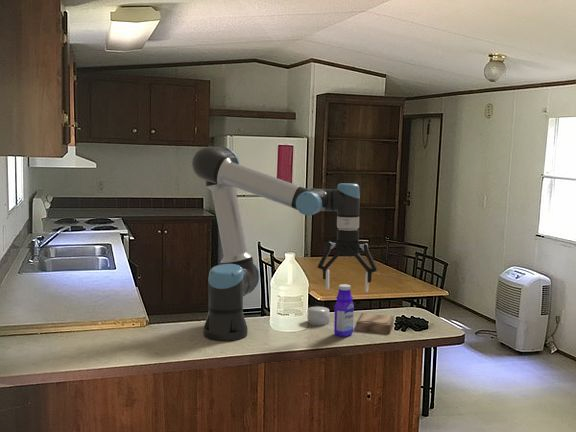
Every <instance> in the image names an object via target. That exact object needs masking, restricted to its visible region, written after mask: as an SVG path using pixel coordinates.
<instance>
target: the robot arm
mask: <svg viewBox="0 0 576 432" xmlns="http://www.w3.org/2000/svg"><path fill="white" fill-rule="evenodd" d="M191 167H192V170H193V172H194V174H195V175H196V177H198V178H199V179H200V180H204V181H205V186H206V188H207V189H208V190H210V192H211V195H212V200H213V206H214V211H215V217H216V221H217V226H218V233H219V238H220V244H221V249H222V254H223V257H222V258H221V260H220V264H217V265H215V266H212V268H210V270H209V272H208V278H207V280H208V281H207V282H208V311H207V312H208V313H207V317H206V318H205V322H204V325H203V329H202V332H203V334H202V335H203V336H204V337H205V338H206V339H208V340H212V341H220V342H222V341H223V342H226V341H227V342H228V341H229V342H231V341H236V340H242V339H244V338H245V337H246V338H247V336H248V334H249V333H248V331H249V329H248V325H247V321H246V319H245V315H244V311H243V309H244V307H243V306H244V297H245V296H247V295H248V294H251V293H252V292H253V291H254V290H255V289H256V287H257V286H258V284H259V282H260V279H261V277H260V276H261V274H260V270H259V268H258V266H257V265H256V264H255V263H254V258H253V255H252V254H250V253H249V252H248V249H247V243H246V238H245V232H244V228H243V222H242V217H241V213H240V205H239V202H238V194H237V189H239V190H241V191H244V192H247V193H250V194H252V195H255V196H258V197H262V198H264V199H266V200H269V201H272V202H275V203H277V204H280V205H282V206H286V207H288V208H292V209H294V210H296V211H298V212H299V213H300V214H302V215H304V216H314V215H315V214H317V213H320V212H337V213H336V214H337V215H336V227H337V230H336V242H332V241H328V242H327V245H326V250H325V252H324V253H323V255H322V257H321V259H320V261H319V262H318V264H317V268H318V269H320V270H322V279H323V281H324V280H325V290H329V289H330V275H331V274H330V272H331V271H330V269H328V268H330V266H331V265H332V264H333V263H334V262H335V261H336V260H337V258H338V257H339V256H340V255H341V256H342V257H350V258H351V257H354V258H355V259H356V260H357V262H358V263H360V265H361V266H362V267H363V268H364V269H365V274H364V276H365V278H364V281H365V282H364V293H368V292H369V283H371V282H372V278H373V273H375V272H377V271H378V267H377V264H376V262H375V260H374V257H373V256H372V255H371V252H370V249H369V244H368V243H363V244H360V230H359V228H360V208H361V207H360V206H361V205H360V204H361V200H360V199H361V196H360V195H361V194H360V186H359V184H358V183H338V184H337V188H333V189H332V188H314V187H313V188H311V187H310V188H306V187H303V186H300V185H298V184H294V183H291V182H289V181H285V180H283V179H280V178H278V177H274V176H272V175H269V174H267V173H264V172H261V171H258V170H256V169H254V168H253V169H252V168H250V167H247V166H244V165H241V164H240V160H239V158H238V155H237V154H236V153H235V151H233V150H232V149H230V148H227V147H225V146H205V147H202V148H200V149H198V150H197V151H196V152H195V154H193V157H192V160H191ZM334 247H335V249H336V250H337V252H336V253H335V254H334V255H333V256H331V258H330V260H329V261H328V262H326V260H327V258H328V256H329V255H330V252H331V250H333V249H334ZM360 248H361V250H362V251H363V252H364V255H365V257H366V259H367V261H368V263H369V264H368V263H367V262H366V260H365V259H364V258H363V257H362V255H361V253H360V252H359V250H360ZM325 262H326V264H325ZM324 264H325V265H324Z"/></svg>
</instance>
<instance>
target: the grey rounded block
mask: <svg viewBox="0 0 576 432" xmlns="http://www.w3.org/2000/svg"><path fill="white" fill-rule="evenodd" d="M307 319H308V322H309V323H310V324H309V323H308V322H307V323H308V324H309V325H311V324H312V326H327V325H329V324H330V309H329V308H328V307H325V306H311V307H308V308H307ZM326 324H327V325H326Z"/></svg>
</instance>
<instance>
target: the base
mask: <svg viewBox="0 0 576 432" xmlns="http://www.w3.org/2000/svg"><path fill="white" fill-rule="evenodd" d="M394 318H395V316H394V315H384V314H375V313H366V312H365V313H362V312H361V313H360V315H359V317H358V318H357V320H356V325H355V326H356V328H355V330H356V331H362V332H364V331H365V332H373V333H374V332H375V333H381V334H382V333H383V334H391V332H392V329H393V326H394V321H395V319H394Z"/></svg>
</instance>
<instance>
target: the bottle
mask: <svg viewBox="0 0 576 432" xmlns="http://www.w3.org/2000/svg"><path fill="white" fill-rule="evenodd" d="M351 286H352V285H350V284H345V283H344V284H339V285H338V291H337V292H338V293H337V295H336V297H335V299H336V302H335V305H334V325H333V328H334V329H333V332H334V334H335V335H336V336H338V337H341V338H342V337H348V336H350V335H352V334H353V332H354V316H355V315H354V314H355V313H354V311H355V307H354V306H355V305H354V302H353V300H354V299H353V295H352V293H351V290H352V288H351Z"/></svg>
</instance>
